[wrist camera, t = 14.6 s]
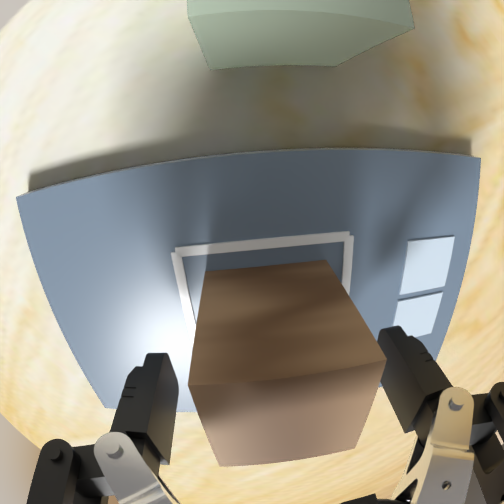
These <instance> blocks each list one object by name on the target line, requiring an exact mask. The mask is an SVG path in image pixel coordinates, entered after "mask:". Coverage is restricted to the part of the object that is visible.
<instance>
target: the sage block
mask: <svg viewBox="0 0 504 504" xmlns="http://www.w3.org/2000/svg"><path fill="white" fill-rule="evenodd" d="M187 11H188V19H189V21H190V23H191V26H192V28H193V30H194V33H195V35H196V37H197V40H198V42H199V45H200V47H201V49H202V52H203V54H204V57H205V59H206V62H207V64H208V66H209V69H210V70H218V69H227V68H238V67H253V66H277V65H309V66H333V67H336V66H337V65H339V64H341V63H343V62H345V61H347V60H349V59H351V58H352V57H354V56H356V55H358V54H360V53H362V52H364V51H366V50H368V49H370V48H372V47H374V46H377V45H379V44H381V43H383V42H385V41H387V40H389V39H392V38H394V37H396V36H398V35H401V34H403V33H405V32H408V31H410V30H412V29H415V27H414V22H413V17H412V12H411V8H410V4H409V0H187Z"/></svg>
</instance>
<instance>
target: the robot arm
mask: <svg viewBox="0 0 504 504" xmlns="http://www.w3.org/2000/svg"><path fill="white" fill-rule="evenodd" d="M377 343H378V344H379V346H380V348H381V350H382V351H383V353H384V355H385V357H386V358H387V361H386V364H385V367H384V371H383V374H382V377H381V380H380V382H381V384H382V386H383V388H384V390H385V392H386V394H387V397H388V399H389V401H390V403H391V405H392V407H393V409H394V411H395V413H396V415H397V417H398V420H399V422H400V424H401V426H402V428H403V430H404V433H408V432H411V431H413V430H415V431H416V434H417V436H416V437H415V440H414V443H413V446H412V450H411V453H410V456H409V459H408V462H407V465H406V467H405V470H404V473H403V475H402V478H401V480H400V482H399V483H398V485H397V487H396V488H395V490H394V492H393V494H392V496H391V498H390V499H377V498H376V495H375V494H371V495H368V496H365V497H361V498H358V499H354V500H350V501H346V502H343V503H341V504H464V502H465V499H466V495H467V491H468V487H469V482H470V478H471V473H472V468H473V469H474V472H475V474H476V477H477V479H478V482H479V484H480V487H481V490H482V492H483V495H484V498H485V500H486V503H487V504H504V450H503V448H502V446H501V444H500V442H499V440H498V438H497V436H496V434H495V432H496V431H497V430H498V432H499V434H500V436H501V438H502V440H503V442H504V382H499V383H496V384H495V385H494V386H493V387H492V389H491V390H490V392H489V393H485V394H477V395H471V394H470V393H469V392H468V391H467V390H465V389H463V388H460V387H453V386H452V385H451V383H450V382H449V380H448V379H447V377H446V376H445V374H444V373H443V371H442V370H441V368H440V367H439V366H438V364H437V363H436V361H435V360H433V357H432V356H431V354H430V353H428V350H427V349H426V347H425V346H424V344H423V343H422V342H421V341H419V340H418V339H417V338H415V337H414V336H412V335H410V336H407V334H406V333H405V331H404V330H403V329H402V327H401V326H399V325H397V326H392V327H388V328H383V329H381V330H380V331H379V335H378V339H377ZM178 396H179V385H178V380H177V377H176V374H175V371H174V369H173V366H172V363H171V360H170V357H169V355H168V353H147V354H146V357H145V360H144V363H143V366H135V368H134V369H133V370H132V371H131V372H130V373H129V375H128V376H127V379H126V382H125V385H124V389H123V391H122V394H121V398H120V400H119V403H118V407H117V410H116V413H115V416H114V420H113V423H112V427H111V430H110V432H109V433H107V434H104V435H103V436H101V437H100V438H99V439H98V440H97V442H96V443H95V444H93V445H86V446H78V447H71V446H70V444H69V443H68V442H66V441H64V440H62V439H53V440H50V441H49V442H47V443H46V444H45V445H44V446H43V448H42V449H41V452H40V455H39V459H38V462H37V465H36V469H35V472H34V476H33V479H32V483H31V487H30V491H29V495H28V499H27V504H108V496H112V495H115V497H116V498H117V500H118V502H119V504H181V503H180V501H179V500H178V499H177V498H176V496H175V495H174V494H173V493H172V491H171V490H170V489H169V487H168V486H167V485H166V483H165V482H164V481H163V479H162V478H161V476H160V475H159V467H160V464H162V465H169V464H170V456H171V447H172V439H173V432H174V424H175V417H176V410H177V403H178Z"/></svg>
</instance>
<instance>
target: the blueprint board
mask: <svg viewBox="0 0 504 504" xmlns="http://www.w3.org/2000/svg"><path fill="white" fill-rule="evenodd" d="M480 163H481V158H478V157H474V156H471V155H465V154H456V153H446V152H435V151H423V150H408V149H387V148H302V149H280V150H264V151H251V152H239V153H229V154H219V155H210V156H201V157H194V158H186V159H179V160H172V161H165V162H159V163H153V164H147V165H141V166H135V167H130V168H125V169H120V170H114V171H110V172H105V173H100V174H96V175H91V176H87V177H82V178H78V179H74V180H70V181H66V182H62V183H58V184H54V185H51V186H47V187H43V188H40V189H36V190H33V191H29V192H27V193H24V194H22V195H20V196H18V197H16V200H17V204H18V209H19V213H20V217H21V221H22V225H23V228H24V232H25V235H26V239H27V242H28V246H29V249H30V252H31V255H32V258H33V261H34V264H35V267H36V270H37V273H38V276H39V278H40V281H41V284H42V286H43V289H44V291H45V294H46V296H47V299H48V301H49V304H50V306H51V308H52V311H53V313H54V315H55V318H56V320H57V322H58V324H59V326H60V328H61V331H62V333H63V335H64V337H65V339H66V341H67V343H68V345H69V347H70V349H71V351H72V353H73V354H74V356H75V358H76V360H77V362H78V364H79V366H80V367H81V369H82V371H83V373H84V374H85V376H86V378H87V379H88V381H89V383H90V385H91V386H92V388H93V389H94V391H95V393H96V394H97V396H98V397H99V399H100V401H101V402H102V404H103V405H104V407H105V408H112V409H117V407H118V403H119V400H120V398H121V394H122V391H123V389H124V385H125V382H126V379H127V376H128V375H129V373H130V372H131V371H132V370H133V369H134V368H135V366H143V363H144V360H145V357H146V354H147V353H168V355H169V357H170V360H171V363H172V366H173V369H174V371H175V374H176V377H177V380H178V385H179V396H178V403H177V410H176V412H197V410H196V407H195V404H194V402H193V399H192V396H191V393H190V391H189V388H188V378H189V371H190V364H191V357H192V350H193V343H194V336H195V330H196V323H197V317H198V310H199V304H200V298H201V292H202V286H203V280H204V275H205V271H215V270H226V269H237V268H248V267H258V266H269V265H279V264H289V263H299V262H309V261H318V260H327V262H328V264H329V265H330V267H331V268H332V270H333V271H334V273H335V274H336V276H337V277H338V279H339V281H340V282H341V284H342V285H343V287H344V288H345V290H346V292H347V293H348V295H349V296H350V298H351V300H352V301H353V303H354V305H355V306H356V308H357V309H358V311H359V313H360V314H361V316H362V318H363V319H364V321H365V323H366V324H367V326H368V328H369V329H370V331H371V333H372V334H373V336H374V338H375V339H376V341H377V339H378V335H379V331H380V330H381V329H383V328H388V327H392V326H397V325H399V326H401V327H402V329H403V330H404V331H405V333H406V334H407V336H410V335H412V336H414V337H415V338H417V339H418V340H419V341H421V342H422V343H423V344H424V346H425V347H426V349H427V350H428V353H430V354H431V356H432V357H433V360H435V361H436V359H437V356H438V354H439V351H440V349H441V346H442V343H443V341H444V338H445V335H446V332H447V330H448V327H449V324H450V321H451V318H452V315H453V311H454V308H455V305H456V302H457V298H458V295H459V291H460V288H461V284H462V280H463V276H464V272H465V268H466V263H467V259H468V254H469V250H470V245H471V239H472V234H473V228H474V222H475V215H476V207H477V199H478V190H479V179H480ZM378 387H382V384H381V382H380V383H379V386H378Z"/></svg>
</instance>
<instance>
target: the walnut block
mask: <svg viewBox="0 0 504 504" xmlns="http://www.w3.org/2000/svg"><path fill="white" fill-rule="evenodd" d="M386 361H387V358H386V357H385V355H384V353H383V351H382V350H381V348H380V346H379V344H378V343H377V341H376V339H375V338H374V336H373V334H372V333H371V331H370V329H369V328H368V326H367V324H366V323H365V321H364V319H363V318H362V316H361V314H360V313H359V311H358V309H357V308H356V306H355V305H354V303H353V301H352V300H351V298H350V296H349V295H348V293H347V292H346V290H345V288H344V287H343V285H342V284H341V282H340V281H339V279H338V277H337V276H336V274H335V273H334V271H333V270H332V268H331V267H330V265H329V264H328V262H327V260H318V261H309V262H299V263H289V264H279V265H269V266H258V267H248V268H237V269H226V270H215V271H205V275H204V280H203V286H202V292H201V298H200V304H199V310H198V317H197V323H196V330H195V336H194V343H193V350H192V357H191V364H190V371H189V378H188V388H189V391H190V393H191V396H192V399H193V402H194V404H195V407H196V410H197V412H198V415H199V418H200V420H201V423H202V425H203V428H204V430H205V433H206V435H207V438H208V440H209V443H210V445H211V447H212V450H213V452H214V454H215V457H216V459H217V461H218V464H219V466H244V465H258V464H268V463H277V462H285V461H293V460H299V459H306V458H311V457H317V456H322V455H327V454H332V453H337V452H341V451H346V450H350V449H354V448H355V447H356V444H357V442H358V440H359V437H360V435H361V432H362V430H363V427H364V425H365V422H366V420H367V417H368V415H369V412H370V409H371V406H372V404H373V401H374V398H375V395H376V392H377V389H378V386H379V383H380V380H381V377H382V374H383V371H384V367H385V364H386Z"/></svg>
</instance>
